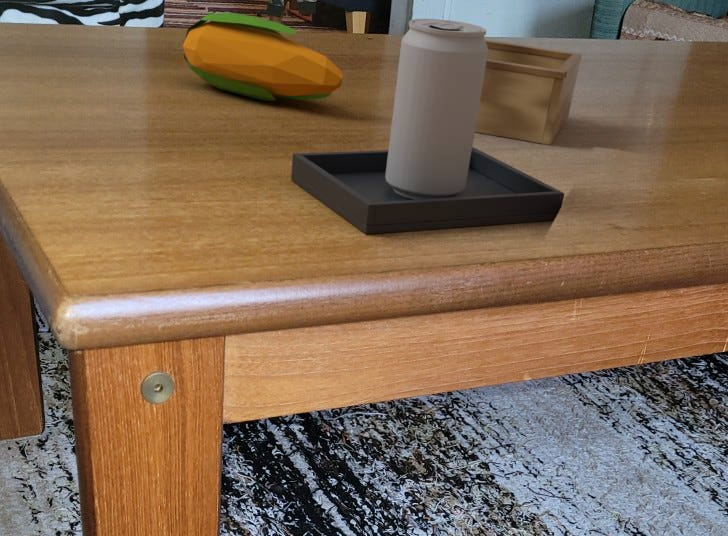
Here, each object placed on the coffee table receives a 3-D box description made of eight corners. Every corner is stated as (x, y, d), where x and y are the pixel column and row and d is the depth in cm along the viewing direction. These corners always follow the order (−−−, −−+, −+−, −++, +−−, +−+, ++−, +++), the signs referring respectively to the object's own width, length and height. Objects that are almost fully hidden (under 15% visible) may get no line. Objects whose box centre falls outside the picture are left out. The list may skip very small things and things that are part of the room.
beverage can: (373, 194, 77) (392, 22, 70) (398, 175, 82) (419, 12, 75) (451, 210, 75) (479, 35, 68) (472, 189, 80) (500, 25, 73)
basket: (568, 120, 107) (582, 54, 103) (550, 145, 97) (565, 72, 93) (454, 101, 110) (464, 36, 106) (425, 124, 100) (435, 52, 96)
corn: (211, -3, 106) (368, 28, 97) (212, 73, 110) (363, 109, 102) (164, 7, 101) (326, 41, 92) (168, 86, 105) (322, 125, 97)
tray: (469, 171, 87) (473, 146, 86) (558, 220, 77) (565, 193, 76) (290, 180, 80) (292, 153, 79) (365, 234, 70) (369, 205, 69)
